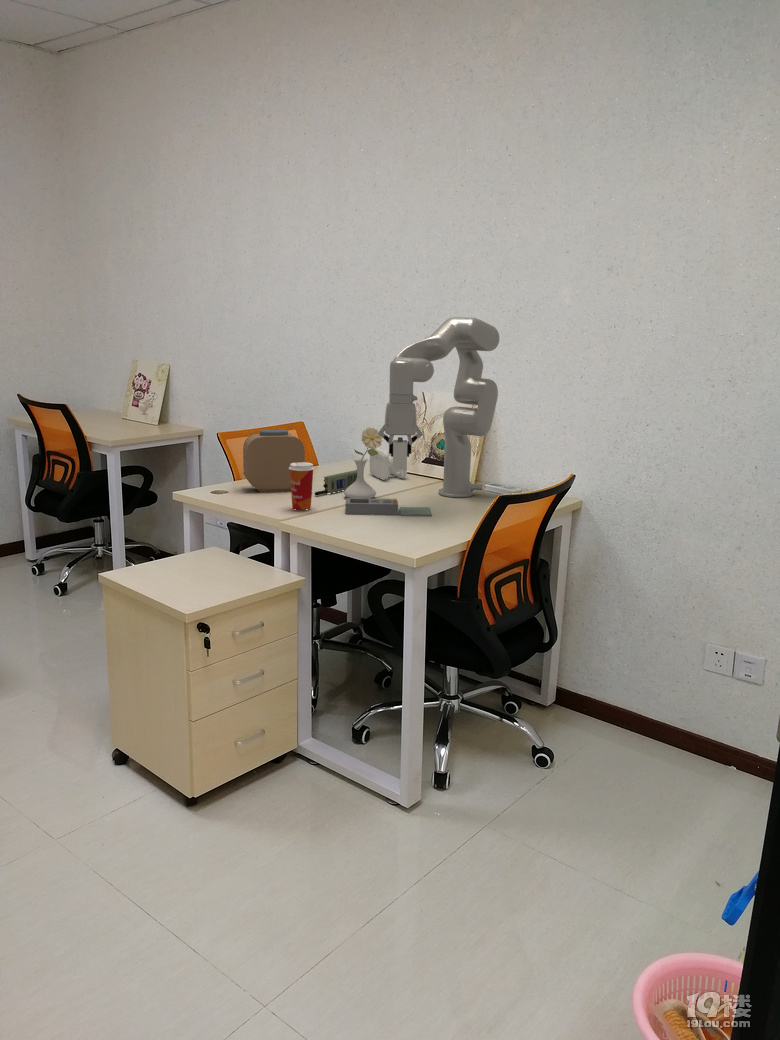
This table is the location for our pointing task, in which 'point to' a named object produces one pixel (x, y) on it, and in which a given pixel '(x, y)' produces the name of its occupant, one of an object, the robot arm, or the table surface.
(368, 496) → the flower in vase
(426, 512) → the mat
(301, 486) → the coffee cup
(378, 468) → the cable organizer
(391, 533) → the table surface
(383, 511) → the power strip
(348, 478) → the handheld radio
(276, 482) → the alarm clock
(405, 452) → the block
